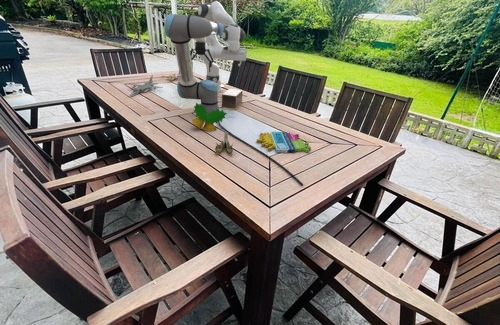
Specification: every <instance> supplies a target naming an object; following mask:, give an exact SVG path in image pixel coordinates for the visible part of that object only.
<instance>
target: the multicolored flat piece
mask: <svg viewBox="0 0 500 325" xmlns="http://www.w3.org/2000/svg"><path fill="white" fill-rule="evenodd" d="M299 136H300V135H299V134H298V133H296V134H294V133H291V132H287V131H270V132H264V133H263V132H260V133H259V139H258V138H257V139H256V143H257V144H261V148H263V147H264V148H265V149H267V151H268V152H271V151H272V150H273V149H275V152H276V153H283V154H285V153H287V154H288V153H290V154H293V153H296V152H298V153H301V152H305V153H310V151H311V150H312V149H311V148H312V146H309V142H304V141H303V139H302V138H299Z"/></svg>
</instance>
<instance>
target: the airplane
mask: <svg viewBox="0 0 500 325" xmlns="http://www.w3.org/2000/svg"><path fill="white" fill-rule="evenodd" d="M153 78H154V75H153V74H151V76H150V78H149V79H148V81H143V83H144V84H136V83H129V85H131V86H132V87H131V89H133V91H131V93H130V94H129V95H128V96H127V98H129V97H134V96H136V95H139V94H140V93H147V92H150V91H151V90H152V91H155V90H157V88H159V89H163V88H164V87H163V86H155V85H160V83H159V82H158V83H157V82H154V81H153Z"/></svg>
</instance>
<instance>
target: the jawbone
mask: <svg viewBox="0 0 500 325" xmlns="http://www.w3.org/2000/svg"><path fill="white" fill-rule="evenodd" d="M223 135H224V136H223V140H222V139H221V142H220V144H218V142H215V144H216V146H215V148H214V149H215V152H214V154H215V155H217V156H218V155H220V153H221V152H223V151H224V150H226V152H227V153H228V155H229V156H233V155H234V154H233V153H234V148H233V144H234V143H230V140H228V139H229V138H228V137H229V136H228V135H229V133H228V132H227V131H225V132H224V134H223Z"/></svg>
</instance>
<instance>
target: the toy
mask: <svg viewBox="0 0 500 325" xmlns="http://www.w3.org/2000/svg"><path fill="white" fill-rule="evenodd" d="M161 78H162V79H164V78H166V80H168V81H170V82H173V81H174V80H179V79H180V78H181V77H180V72H179V71H178V73H172V74H170V75H168V76H167V75H166V76H165V75H161Z"/></svg>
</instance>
